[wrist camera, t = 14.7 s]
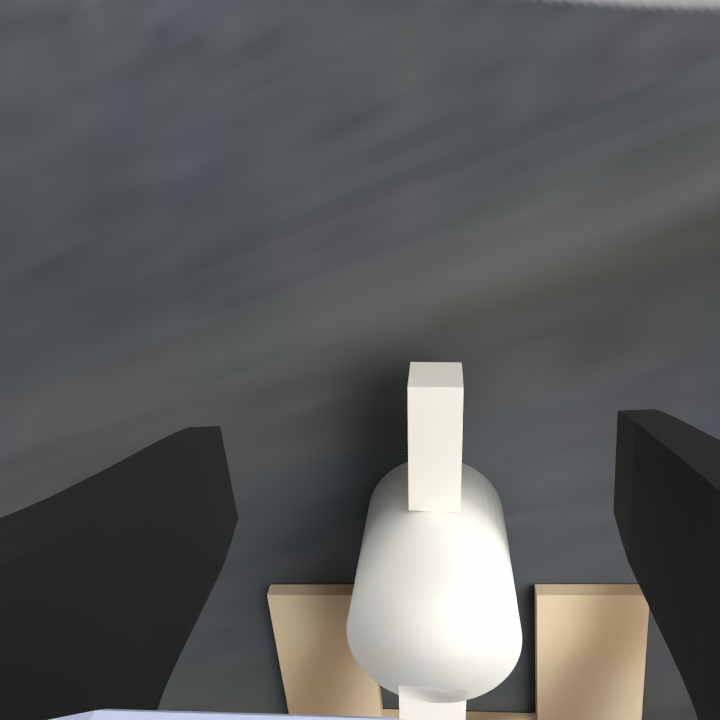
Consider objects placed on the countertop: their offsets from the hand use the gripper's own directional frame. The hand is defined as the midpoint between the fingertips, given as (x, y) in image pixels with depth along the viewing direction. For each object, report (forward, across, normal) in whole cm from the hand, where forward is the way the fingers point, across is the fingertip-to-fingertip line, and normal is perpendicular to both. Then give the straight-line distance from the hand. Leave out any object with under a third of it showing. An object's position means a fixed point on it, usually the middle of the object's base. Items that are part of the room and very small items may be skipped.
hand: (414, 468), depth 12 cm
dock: (+10, 0, +16) cm, 19 cm away
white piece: (+10, 0, +6) cm, 12 cm away
